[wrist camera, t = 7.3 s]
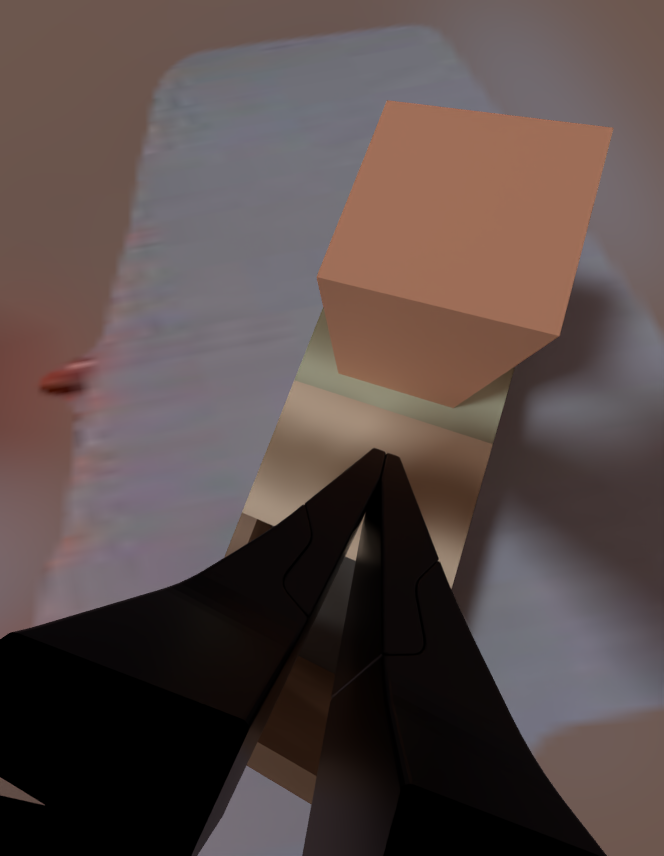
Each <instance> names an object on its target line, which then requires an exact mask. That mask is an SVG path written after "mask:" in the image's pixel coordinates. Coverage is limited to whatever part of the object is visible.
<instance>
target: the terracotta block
mask: <svg viewBox="0 0 664 856" xmlns="http://www.w3.org/2000/svg"><path fill="white" fill-rule="evenodd" d="M612 132H613V128H610V127H601V126H594V125H585V124H577V123H569V122H561V121H552V120H544V119H536V118H528V117H519V116H511V115H503V114H495V113H487V112H478V111H470V110H462V109H454V108H445V107H437V106H429V105H421V104H412V103H404V102H396V101H388V100H387V102H386V104H385V107H384V109H383V112H382V114H381V117H380V119H379V122H378V124H377V127H376V129H375V132H374V135H373V137H372V140H371V142H370V145H369V147H368V150H367V152H366V155H365V157H364V160H363V162H362V165H361V167H360V170H359V172H358V175H357V177H356V180H355V182H354V185H353V187H352V190H351V192H350V195H349V197H348V200H347V202H346V205H345V207H344V210H343V212H342V215H341V217H340V220H339V222H338V225H337V227H336V230H335V232H334V235H333V237H332V240H331V242H330V245H329V247H328V250H327V252H326V255H325V257H324V260H323V262H322V265H321V267H320V270H319V272H318V275H317V281H318V285H319V290H320V294H321V298H322V303H323V307H324V312H325V316H326V321H327V325H328V330H329V334H330V338H331V343H332V347H333V352H334V356H335V361H336V365H337V370H338V373H339V374H342V375H345V376H349V377H352V378H355V379H358V380H362V381H365V382H368V383H372V384H375V385H378V386H382V387H385V388H388V389H391V390H395V391H398V392H401V393H405V394H408V395H411V396H415V397H418V398H421V399H424V400H428V401H431V402H434V403H438V404H441V405H444V406H448V407H451V408H454V407H456V406H457V405H459V404H460V403H462V402H463V401H465V400H466V399H468V398H469V397H470V396H472V395H473V394H475V393H476V392H478V391H479V390H481V389H482V388H484V387H485V386H487V385H488V384H490V383H491V382H493V381H494V380H496V379H497V378H498V377H500V376H501V375H503V374H504V373H506V372H507V371H509V370H510V369H512V368H513V367H515V366H516V365H518V364H519V363H521V362H522V361H523V360H525V359H526V358H528V357H529V356H531V355H532V354H534V353H535V352H537V351H538V350H540V349H541V348H543V347H544V346H546V345H547V344H549V343H550V342H551V341H553V340H554V339H556V338H557V337H559V336H560V332H561V328H562V324H563V321H564V317H565V313H566V309H567V305H568V301H569V297H570V294H571V290H572V286H573V282H574V278H575V274H576V270H577V267H578V263H579V259H580V255H581V251H582V247H583V243H584V240H585V236H586V232H587V228H588V224H589V220H590V216H591V213H592V209H593V205H594V201H595V197H596V193H597V190H598V185H599V181H600V177H601V173H602V170H603V166H604V163H605V159H606V155H607V151H608V147H609V143H610V139H611V136H612Z"/></svg>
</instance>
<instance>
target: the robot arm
mask: <svg viewBox="0 0 664 856" xmlns="http://www.w3.org/2000/svg"><path fill="white" fill-rule="evenodd" d="M363 517H364V519H363ZM362 519H363V524H362V529H361V535H360V540H359V546H358V551H357V557H356V562H355V568H354V573H353V579H352V584H351V590H350V595H349V601H348V606H347V612H346V617H345V623H344V629H343V634H342V640H341V645H340V651H339V656H338V662H337V667H336V673H335V678H334V684H333V689H332V695H331V698H332V699H331V700H330V706H329V711H328V717H327V722H326V728H325V733H324V739H323V744H322V750H321V755H320V761H319V766H318V772H317V777H316V783H315V789H314V794H313V800H312V805H311V811H310V816H309V822H308V827H307V833H306V838H305V844H304V849H303V855H302V856H607V855H606V854H605V853H604V852H603V850H602V849H601V848H600V846H599V845H598V844H597V843H596V841H595V840H594V839H593V837H592V836H591V835H590V834H589V832H588V831H587V830H586V828H585V827H584V826H583V825H582V823H581V822H580V821H579V819H578V818H577V817H576V816H575V814H574V813H573V812H572V810H571V809H570V808H569V807H568V806H567V804H566V803H565V801H564V800H563V799H562V797H561V796H560V795H559V793H558V792H557V791H556V789H555V788H554V787H553V785H552V784H551V782H550V781H549V779H548V778H547V777H546V775H545V774H544V772H543V770H542V769H541V767H540V766H539V764H538V762H537V761H536V759H535V758H534V756H533V755H532V753H531V751H530V749H529V748H528V746H527V744H526V742H525V741H524V739H523V737H522V735H521V734H520V732H519V730H518V728H517V726H516V724H515V722H514V720H513V718H512V716H511V714H510V712H509V710H508V708H507V706H506V704H505V702H504V700H503V698H502V696H501V694H500V692H499V689H498V687H497V685H496V683H495V681H494V679H493V677H492V675H491V673H490V671H489V669H488V667H487V665H486V663H485V661H484V659H483V657H482V655H481V653H480V651H479V649H478V647H477V645H476V642H475V640H474V638H473V636H472V634H471V632H470V630H469V628H468V626H467V624H466V621H465V619H464V617H463V615H462V613H461V611H460V609H459V606H458V604H457V602H456V600H455V597H454V595H453V592H452V590H451V588H450V585H449V583H448V580H447V578H446V575H445V573H444V570H443V567H442V565H441V562H440V561H438V560H439V557H438V555H437V552H436V550H435V547H434V544H433V542H432V539H431V537H430V534H429V531H428V529H427V526H426V524H425V521H424V518H423V516H422V513H421V511H420V508H419V505H418V503H417V500H416V498H415V495H414V492H413V490H412V487H411V485H410V482H409V479H408V477H407V474H406V472H405V469H404V466H403V464H402V461H401V459H400V457H399V456H396V455H394V454H391V453H387V454H386V452H385V451H383V450H380V449H377V448H372V449H371V450H370V451H369V452H367V453H366V454H365V455H364V456H362V457H361V458H360V459H359V460H357V461H356V462H355V463H354V464H353V465H351V466H350V467H349V468H348V469H346V470H345V471H344V472H343V473H341V474H340V475H339V476H338V477H336V478H335V479H334V480H333V481H331V482H330V483H329V484H328V485H327V486H325V487H324V488H323V489H322V490H320V491H319V492H318V493H317V494H315V495H314V496H313V497H312V498H310V499H309V500H308V501H307V502H305V505H302V506H300V507H299V508H298V509H297V510H295V511H294V512H293V513H292V514H290V515H289V516H288V517H286V518H285V519H284V520H282V521H281V522H280V523H278V524H277V525H275V526H274V527H272V528H271V529H269V530H268V531H266V532H265V533H263V534H262V535H260V536H259V537H257V538H255V539H254V540H252V541H251V542H249V543H247V544H246V545H244V546H243V547H241V548H239V549H238V550H236V551H234V552H233V553H231V554H230V555H228V556H226V557H225V558H223V559H222V560H220V561H218V562H217V563H215V564H213V565H212V566H210V567H209V568H207V569H205V570H204V571H202V572H200V573H198V574H196V575H195V576H193V577H191V578H189V579H187V580H184V581H182V582H180V583H178V584H175V585H172V586H170V587H167V588H164V589H161V590H157V591H154V592H150V593H147V594H144V595H140V596H137V597H134V598H130V599H127V600H123V601H120V602H117V603H113V604H110V605H106V606H103V607H100V608H96V609H93V610H90V611H86V612H83V613H79V614H76V615H73V616H69V617H66V618H62V619H59V620H56V621H52V622H49V623H46V624H42V625H39V626H35V627H32V628H28V629H24V630H20V631H15V632H11V633H9V634H7V635H6V636H4V637H3V638H2V639H0V856H197V855H198V854H199V852H200V851H201V849H202V847H203V846H204V844H205V843H206V841H207V840H208V838H209V836H210V835H211V833H212V832H213V830H214V829H215V827H216V826H217V824H218V822H219V821H220V819H221V818H222V816H223V814H224V812H225V810H226V808H227V805H228V803H229V801H230V799H231V797H232V795H233V793H234V791H235V788H236V786H237V784H238V782H239V780H240V778H241V776H242V774H243V772H244V769H245V767H246V765H247V763H248V761H249V759H250V757H251V755H252V752H253V750H254V748H255V746H256V744H257V742H258V740H259V738H260V736H261V733H262V731H263V729H264V727H265V725H266V723H267V721H268V719H269V717H270V714H271V712H272V710H273V708H274V706H275V704H276V702H277V700H278V697H279V695H280V693H281V691H282V689H283V687H284V685H285V683H286V681H287V678H288V676H289V674H290V672H291V670H292V668H293V666H294V664H295V662H296V659H297V657H298V655H299V653H300V651H301V649H302V647H303V645H304V642H305V640H306V638H307V636H308V634H309V632H310V630H311V628H312V626H313V623H314V621H315V619H316V617H317V615H318V613H319V611H320V609H321V607H322V604H323V602H324V600H325V598H326V596H327V594H328V592H329V590H330V588H331V585H332V583H333V581H334V579H335V577H336V575H337V573H338V571H339V568H340V566H341V564H342V562H343V560H344V558H345V556H346V554H347V552H348V549H349V547H350V545H351V543H352V541H353V539H354V537H355V535H356V533H357V530H358V528H359V526H360V524H361V522H362Z"/></svg>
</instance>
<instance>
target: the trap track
mask: <svg viewBox="0 0 664 856" xmlns="http://www.w3.org/2000/svg"><path fill="white" fill-rule="evenodd" d="M514 368H515V367H513V368H512V369H510V370H509V371H507V372H506V373H504V374H503V375H501V376H500V377H498V378H497V379H496V380H494V381H493V382H491V383H490V384H488V385H487V386H485V387H484V388H482V389H481V390H479V391H478V392H476V393H475V394H473V395H472V396H470V397H469V398H468V399H466V400H465V401H463V402H462V403H460V404H459V405H457V406H456V407H454V408H451V407H448V406H444V405H441V404H438V403H434V402H431V401H428V400H424V399H421V398H418V397H415V396H411V395H408V394H405V393H401V392H398V391H395V390H391V389H388V388H385V387H382V386H378V385H375V384H372V383H368V382H365V381H362V380H358V379H355V378H352V377H349V376H345V375H342V374H339V373H338V370H337V365H336V361H335V356H334V352H333V347H332V343H331V338H330V334H329V330H328V325H327V321H326V316H325V312H324V307H323V309H322V312H321V314H320V317H319V319H318V322H317V324H316V327H315V329H314V332H313V335H312V337H311V340H310V342H309V345H308V347H307V350H306V352H305V355H304V357H303V360H302V362H301V365H300V367H299V370H298V372H297V375H296V378H295V380H294V383H293V385H292V388H291V390H290V393H289V395H288V398H287V400H286V403H285V405H284V408H283V410H282V413H281V415H280V418H279V420H278V423H277V426H276V428H275V431H274V433H273V436H272V438H271V441H270V443H269V446H268V448H267V451H266V453H265V456H264V458H263V461H262V463H261V466H260V469H259V471H258V474H257V476H256V479H255V481H254V484H253V486H252V489H251V491H250V494H249V496H248V499H247V501H246V504H245V506H244V509H243V512H242V514H241V517H240V519H239V522H238V524H237V527H236V529H235V532H234V534H233V537H232V539H231V542H230V544H229V547H228V549H227V552H226V554H225V557H226V556H228V555H230V554H231V553H233V552H234V551H236V550H238V549H239V548H241V547H243V546H244V545H246V544H247V543H249V542H251V541H252V540H254V539H255V538H257V537H259V536H260V535H262V534H263V533H265V532H266V531H268V530H269V529H271V528H272V527H274V526H275V525H277V524H278V523H280V522H281V521H282V520H284V519H285V518H286V517H288V516H289V515H290V514H292V513H293V512H294V511H295V510H297V509H298V508H299V507H300V506H302V505H305V502H307V501H308V500H309V499H310V498H312V497H313V496H314V495H315V494H317V493H318V492H319V491H320V490H322V489H323V488H324V487H325V486H327V485H328V484H329V483H330V482H331V481H333V480H334V479H335V478H336V477H338V476H339V475H340V474H341V473H343V472H344V471H345V470H346V469H348V468H349V467H350V466H351V465H353V464H354V463H355V462H356V461H357V460H359V459H360V458H361V457H362V456H364V455H365V454H366V453H367V452H369V451H370V450H371V449H372V448H377V449H380V450H383V451H385V452H386V454H387V453H391V454H394V455H396V456H399V457H400V459H401V461H402V464H403V466H404V469H405V472H406V474H407V477H408V479H409V482H410V485H411V487H412V490H413V492H414V495H415V498H416V500H417V503H418V505H419V508H420V511H421V513H422V516H423V518H424V521H425V524H426V526H427V529H428V531H429V534H430V537H431V539H432V542H433V544H434V547H435V550H436V552H437V555H438V557H439V560H438V561H440V562H441V565H442V567H443V570H444V573H445V575H446V578H447V580H448V583H449V585H450V588H451V589H452V585H453V582H454V578H455V575H456V571H457V568H458V564H459V561H460V557H461V554H462V550H463V547H464V543H465V540H466V536H467V533H468V529H469V526H470V522H471V519H472V515H473V512H474V508H475V505H476V501H477V498H478V494H479V491H480V487H481V484H482V480H483V477H484V473H485V470H486V466H487V463H488V459H489V456H490V452H491V449H492V445H493V442H494V438H495V435H496V431H497V428H498V424H499V421H500V417H501V414H502V410H503V407H504V403H505V400H506V396H507V393H508V389H509V386H510V382H511V379H512V375H513V372H514ZM363 519H364V517H363ZM363 519H362V522H361V524H360V526H359V528H358V530H357V533H356V535H355V537H354V539H353V541H352V543H351V545H350V547H349V549H348V552H347V554H346V556H345V558H344V560H343V562H342V564H341V566H340V568H339V571H338V573H337V575H336V577H335V579H334V581H333V583H332V585H331V588H330V590H329V592H328V594H327V596H326V598H325V600H324V602H323V604H322V607H321V609H320V611H319V613H318V615H317V617H316V619H315V621H314V623H313V626H312V628H311V630H310V632H309V634H308V636H307V638H306V640H305V642H304V645H303V647H302V649H301V651H300V653H299V655H298V657H297V659H296V662H295V664H294V666H293V668H292V670H291V672H290V674H289V676H288V678H287V681H286V683H285V685H284V687H283V689H282V691H281V693H280V695H279V697H278V700H277V702H276V704H275V706H274V708H273V710H272V712H271V714H270V717H269V719H268V721H267V723H266V725H265V727H264V729H263V731H262V733H261V736H260V738H259V740H258V742H257V744H256V746H255V748H254V750H253V752H252V755H251V757H250V759H249V761H248V763H247V766H248V767H250V768H252V769H253V770H255V771H257V772H258V773H260V774H262V775H263V776H265V777H267V778H268V779H270V780H272V781H273V782H275V783H277V784H278V785H280V786H282V787H283V788H285V789H287V790H288V791H290V792H292V793H293V794H295V795H297V796H298V797H300V798H302V799H303V800H305V801H307V802H308V803H310V804H312V800H313V794H314V789H315V783H316V777H317V772H318V766H319V761H320V755H321V750H322V744H323V739H324V733H325V728H326V722H327V717H328V711H329V706H330V700H331V699H332V698H331V695H332V689H333V684H334V678H335V673H336V667H337V662H338V656H339V651H340V645H341V640H342V634H343V629H344V623H345V617H346V612H347V606H348V601H349V595H350V590H351V584H352V579H353V573H354V568H355V562H356V557H357V551H358V546H359V540H360V535H361V529H362V524H363ZM225 557H224V558H225Z"/></svg>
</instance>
